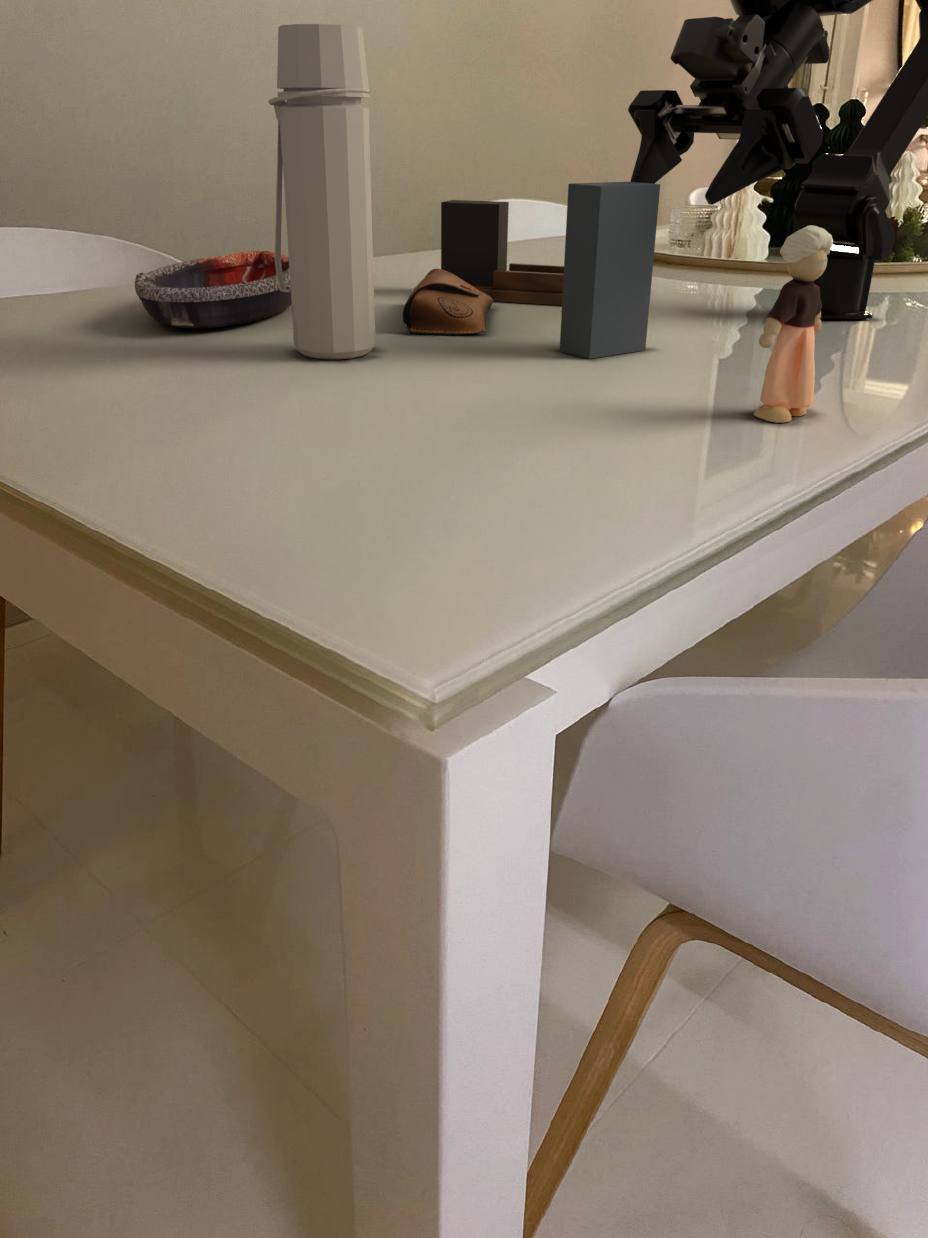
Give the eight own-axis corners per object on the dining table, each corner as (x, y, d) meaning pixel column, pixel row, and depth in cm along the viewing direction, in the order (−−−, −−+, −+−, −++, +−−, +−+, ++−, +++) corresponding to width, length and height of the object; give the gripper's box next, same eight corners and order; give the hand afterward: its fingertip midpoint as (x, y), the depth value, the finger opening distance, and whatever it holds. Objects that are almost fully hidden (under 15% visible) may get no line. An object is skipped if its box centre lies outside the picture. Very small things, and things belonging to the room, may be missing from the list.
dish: (95, 334, 96) (87, 279, 93) (215, 287, 123) (211, 243, 121) (252, 341, 93) (248, 285, 91) (339, 292, 121) (337, 248, 119)
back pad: (614, 342, 95) (627, 181, 89) (645, 350, 92) (660, 183, 86) (559, 351, 91) (568, 183, 85) (589, 359, 88) (601, 185, 82)
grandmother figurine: (795, 429, 69) (827, 231, 63) (740, 421, 70) (766, 227, 65) (824, 406, 75) (855, 223, 69) (772, 399, 76) (799, 219, 71)
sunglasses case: (490, 330, 97) (455, 266, 95) (428, 366, 99) (392, 305, 96) (495, 300, 113) (465, 246, 111) (441, 332, 115) (411, 279, 113)
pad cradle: (596, 294, 122) (602, 203, 117) (578, 306, 113) (584, 209, 109) (451, 285, 127) (452, 197, 122) (424, 296, 118) (424, 203, 114)
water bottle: (392, 348, 91) (386, 30, 80) (348, 365, 85) (334, 21, 74) (306, 339, 95) (289, 32, 84) (257, 354, 88) (231, 24, 77)
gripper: (652, -9, 92) (554, 124, 91) (826, -29, 79) (714, 126, 78) (700, 91, 100) (610, 214, 99) (866, 88, 86) (765, 231, 85)
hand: (668, 197), depth 90 cm, fingers open, 9 cm apart
